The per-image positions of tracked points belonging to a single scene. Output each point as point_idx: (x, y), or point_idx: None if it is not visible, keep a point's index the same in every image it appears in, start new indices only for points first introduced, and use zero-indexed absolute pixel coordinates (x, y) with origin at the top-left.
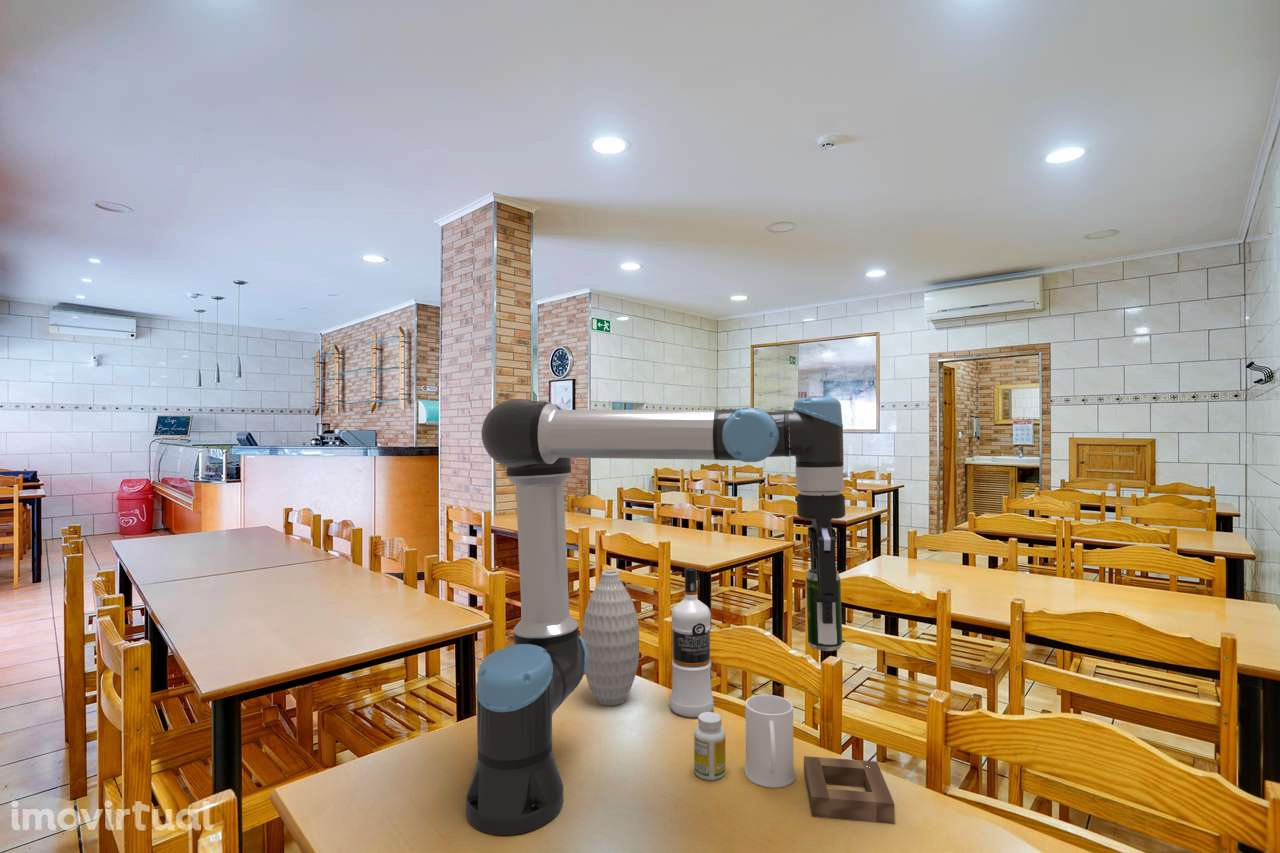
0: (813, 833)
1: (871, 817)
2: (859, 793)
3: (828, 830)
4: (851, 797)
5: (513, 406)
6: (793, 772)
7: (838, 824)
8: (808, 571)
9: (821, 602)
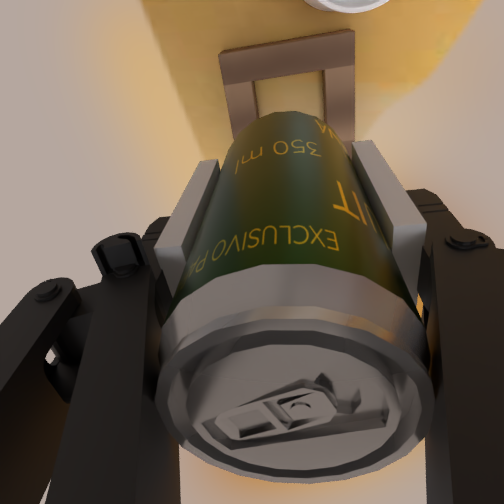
0: (182, 54)
1: None
2: None
3: (198, 77)
4: (237, 120)
5: None
6: (325, 8)
7: (217, 92)
8: (263, 327)
9: (161, 264)
